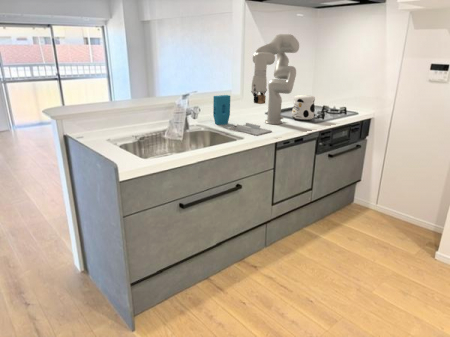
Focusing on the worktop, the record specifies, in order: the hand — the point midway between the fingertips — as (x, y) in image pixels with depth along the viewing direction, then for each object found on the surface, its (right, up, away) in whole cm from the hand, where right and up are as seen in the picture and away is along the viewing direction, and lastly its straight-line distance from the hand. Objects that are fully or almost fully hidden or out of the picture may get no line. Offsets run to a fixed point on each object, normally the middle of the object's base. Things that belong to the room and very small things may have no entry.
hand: (258, 102), depth 217 cm
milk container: (+39, -5, +47) cm, 61 cm away
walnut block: (+1, -1, 0) cm, 1 cm away
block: (-24, -11, +25) cm, 37 cm away
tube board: (-5, -18, +8) cm, 20 cm away
